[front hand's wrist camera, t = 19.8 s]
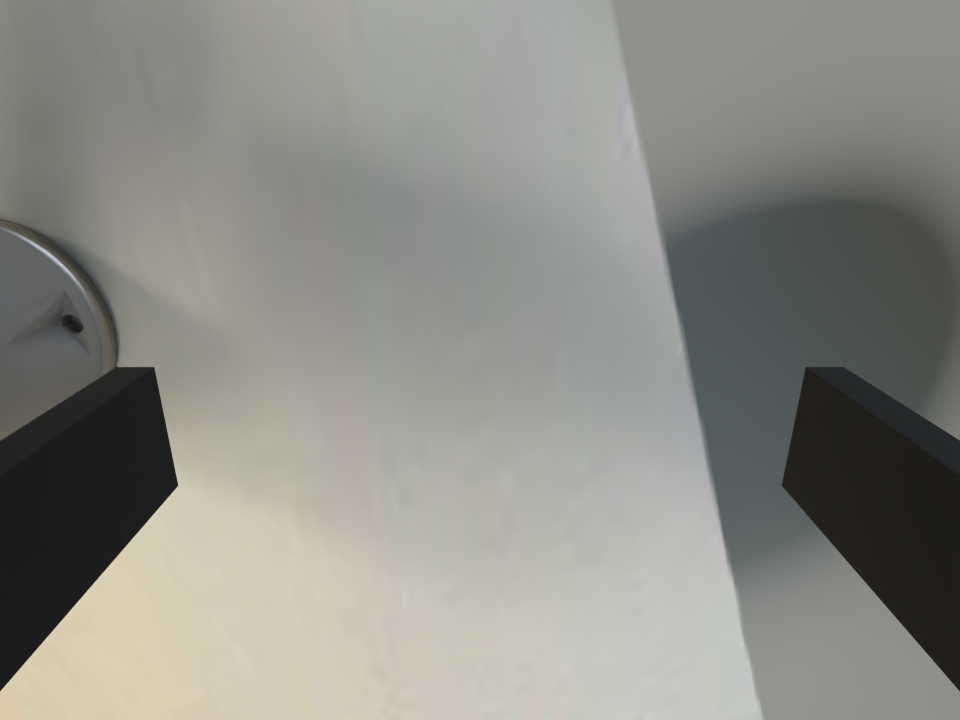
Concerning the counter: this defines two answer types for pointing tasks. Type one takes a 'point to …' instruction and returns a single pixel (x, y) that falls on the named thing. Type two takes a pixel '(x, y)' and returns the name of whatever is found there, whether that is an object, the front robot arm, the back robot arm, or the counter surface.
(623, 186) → the counter surface
